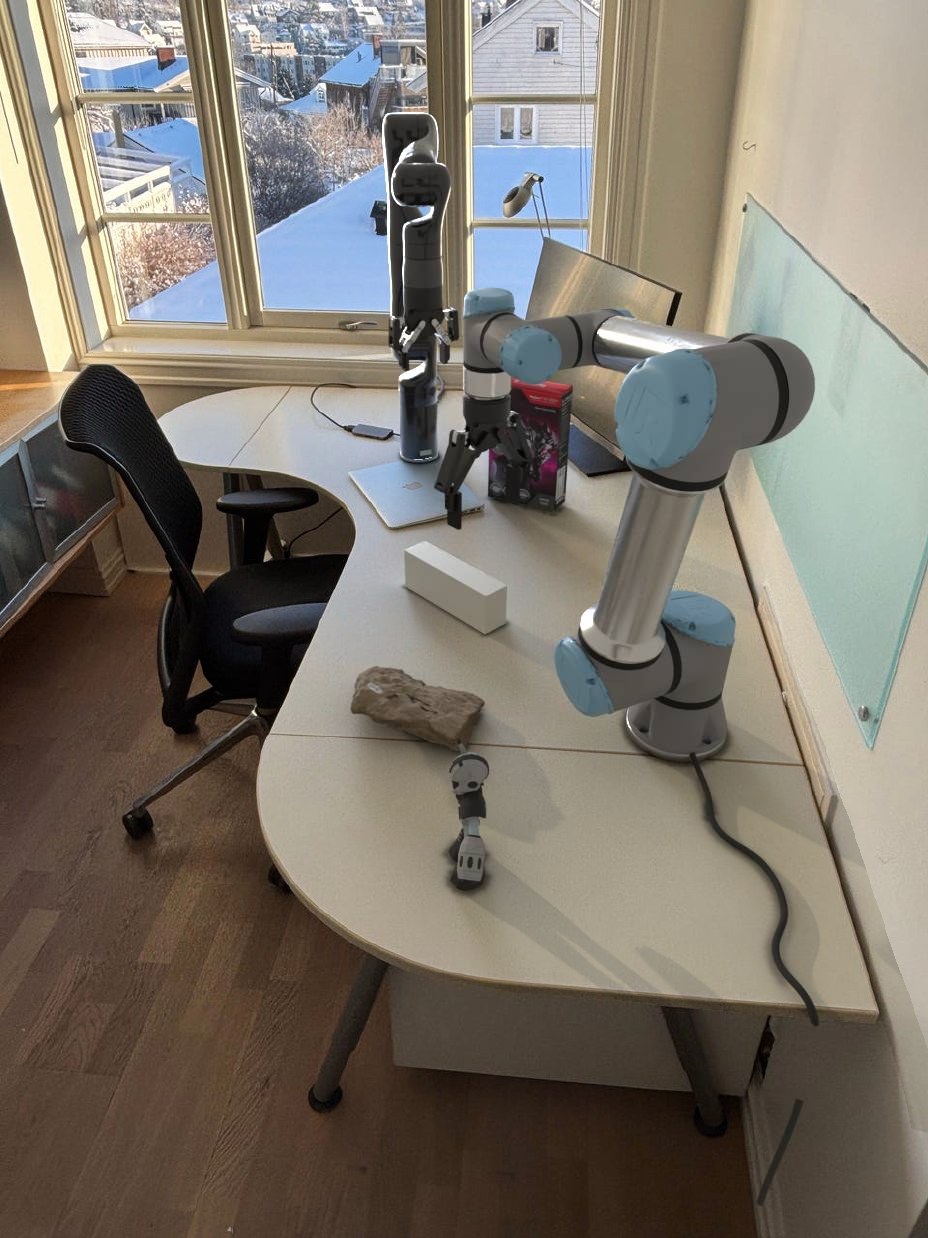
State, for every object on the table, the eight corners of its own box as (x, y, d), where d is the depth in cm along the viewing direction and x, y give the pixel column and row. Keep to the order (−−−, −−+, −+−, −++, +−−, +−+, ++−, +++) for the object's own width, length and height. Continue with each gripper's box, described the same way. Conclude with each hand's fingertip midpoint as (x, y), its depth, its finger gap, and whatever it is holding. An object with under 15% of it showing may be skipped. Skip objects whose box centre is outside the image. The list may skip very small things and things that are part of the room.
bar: (506, 623, 167) (507, 585, 163) (485, 634, 164) (486, 596, 160) (425, 576, 181) (425, 540, 176) (405, 586, 178) (403, 549, 173)
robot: (491, 927, 112) (496, 809, 101) (451, 928, 112) (451, 811, 101) (481, 809, 129) (484, 697, 117) (446, 811, 128) (445, 698, 117)
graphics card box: (485, 497, 209) (487, 380, 194) (498, 486, 214) (502, 371, 199) (554, 514, 203) (562, 394, 188) (566, 502, 208) (575, 384, 193)
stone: (324, 722, 139) (331, 687, 137) (361, 683, 152) (368, 651, 150) (454, 769, 135) (464, 735, 133) (480, 725, 149) (489, 694, 147)
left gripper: (446, 272, 178) (447, 355, 187) (380, 281, 172) (383, 366, 181) (466, 281, 173) (465, 366, 182) (397, 290, 167) (400, 378, 176)
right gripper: (524, 368, 153) (519, 484, 165) (410, 405, 139) (413, 529, 151) (558, 380, 149) (550, 498, 161) (443, 419, 135) (444, 546, 147)
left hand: (424, 366), depth 181 cm, fingers open, 8 cm apart
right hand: (483, 514), depth 156 cm, fingers open, 13 cm apart
